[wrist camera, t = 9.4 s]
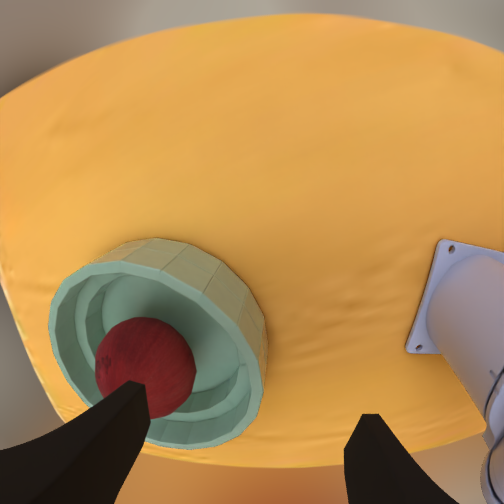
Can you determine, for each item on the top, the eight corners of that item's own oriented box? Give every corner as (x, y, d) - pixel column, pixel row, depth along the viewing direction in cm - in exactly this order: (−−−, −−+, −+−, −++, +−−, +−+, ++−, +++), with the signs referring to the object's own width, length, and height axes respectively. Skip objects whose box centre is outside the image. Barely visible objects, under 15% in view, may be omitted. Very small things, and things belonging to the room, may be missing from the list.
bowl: (251, 222, 17) (239, 245, 12) (277, 400, 20) (274, 452, 15) (68, 250, 19) (22, 273, 14) (123, 396, 22) (98, 435, 17)
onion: (139, 365, 20) (89, 441, 12) (119, 295, 18) (46, 361, 11) (214, 371, 19) (183, 463, 12) (201, 295, 18) (150, 380, 10)
